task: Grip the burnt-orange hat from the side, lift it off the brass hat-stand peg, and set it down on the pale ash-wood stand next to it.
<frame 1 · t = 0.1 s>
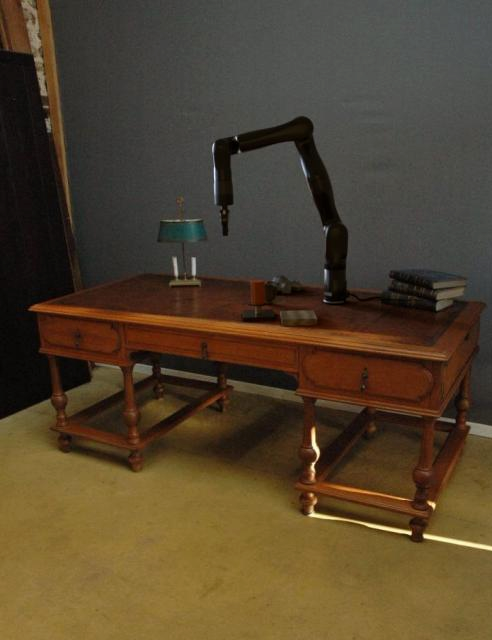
hand: (225, 234, 267), 29 cm above the table, tool pointing down, fingers open, 8 cm apart
hat stand: (258, 316, 259), on the table
hat: (258, 303, 257), point 5 cm above the table, touching hat stand
fossil: (283, 291, 302), on the table
ash stand: (298, 321, 252), on the table
cup: (268, 304, 278), on the table
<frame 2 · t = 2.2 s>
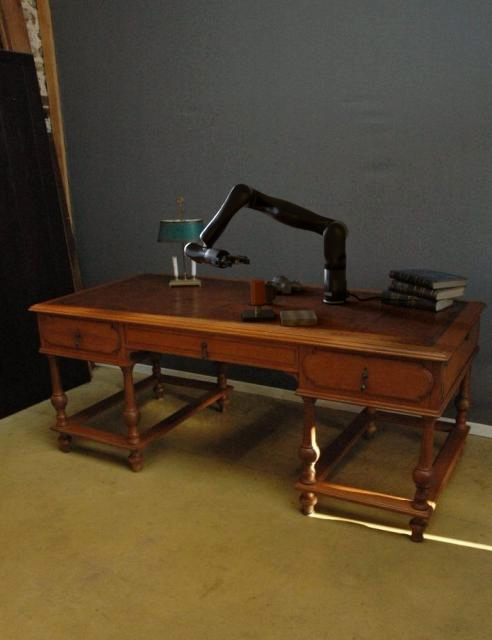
hand: (240, 263, 260), 20 cm above the table, tool horizontal, fingers open, 8 cm apart
nothing on the table moved.
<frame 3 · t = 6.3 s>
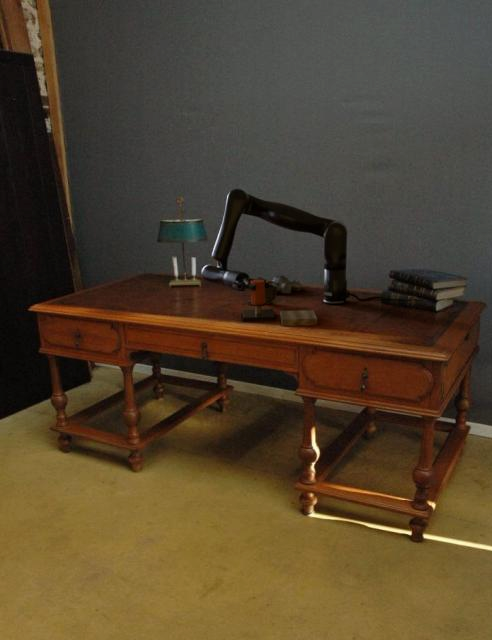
hand: (261, 286, 252), 12 cm above the table, tool horizontal, fingers closed on hat, 5 cm apart
hat: (258, 303, 257), point 5 cm above the table, touching gripper, hat stand
everything else where it was.
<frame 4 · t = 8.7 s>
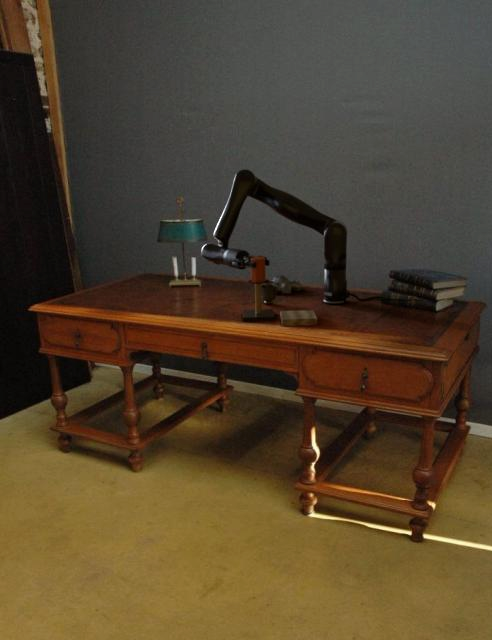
hand: (262, 264, 249), 21 cm above the table, tool horizontal, fingers closed on hat, 5 cm apart
hat: (258, 281, 253), point 14 cm above the table, touching gripper
everything else where it was.
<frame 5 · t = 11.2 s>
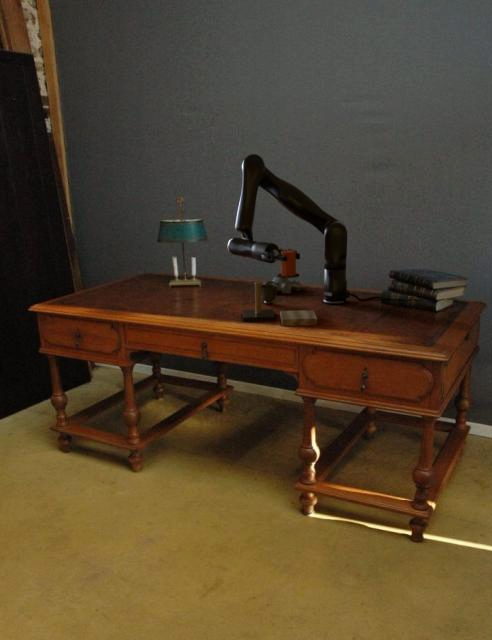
hand: (292, 257, 243), 24 cm above the table, tool horizontal, fingers closed on hat, 5 cm apart
hat: (288, 275, 247), point 17 cm above the table, touching gripper
everything else where it was.
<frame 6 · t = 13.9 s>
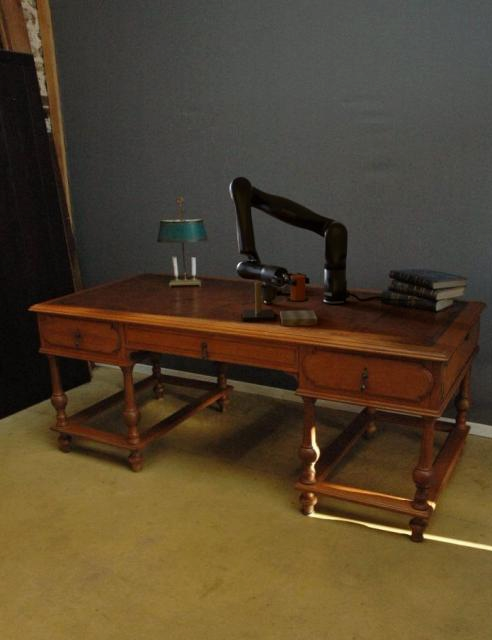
hand: (302, 282, 244), 15 cm above the table, tool horizontal, fingers closed on hat, 5 cm apart
hat: (297, 299, 249), point 8 cm above the table, touching gripper
everything else where it was.
when the fingers open (10 cm above the table, at t = 16.0 s): hat stays where it is, resting on ash stand.
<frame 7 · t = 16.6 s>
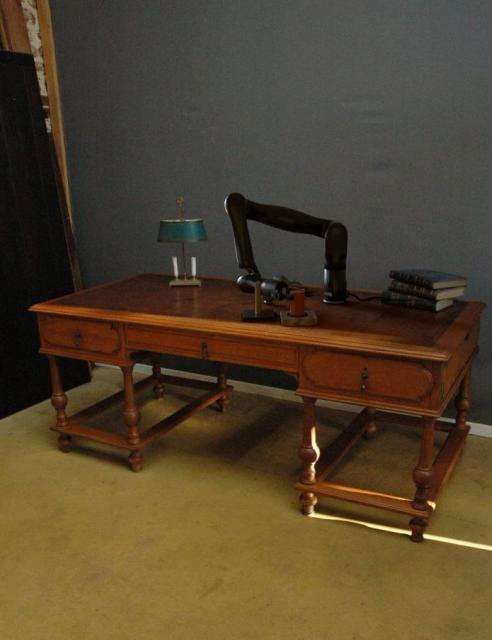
hand: (301, 296, 247), 10 cm above the table, tool horizontal, fingers open, 8 cm apart
hat: (297, 314, 251), point 2 cm above the table, touching ash stand
everything else where it was.
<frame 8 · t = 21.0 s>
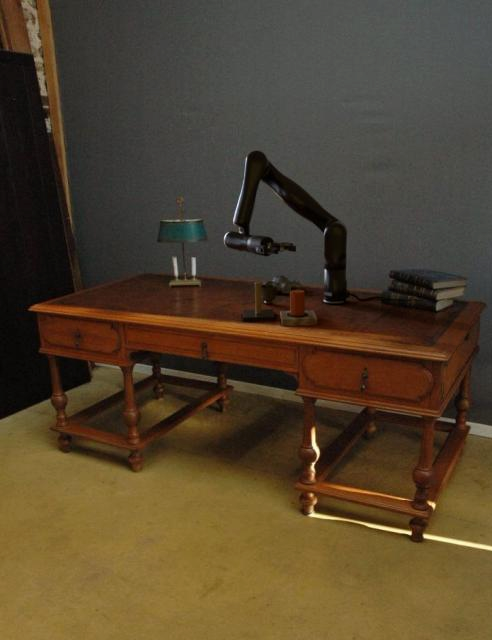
hand: (286, 250, 247), 26 cm above the table, tool horizontal, fingers open, 8 cm apart
nothing on the table moved.
at the end: hat inside the target area on the ash stand (0.4 cm from its centre), point 2.5 cm above the ash stand's base; hat tilted 0°; hat touching ash stand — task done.
